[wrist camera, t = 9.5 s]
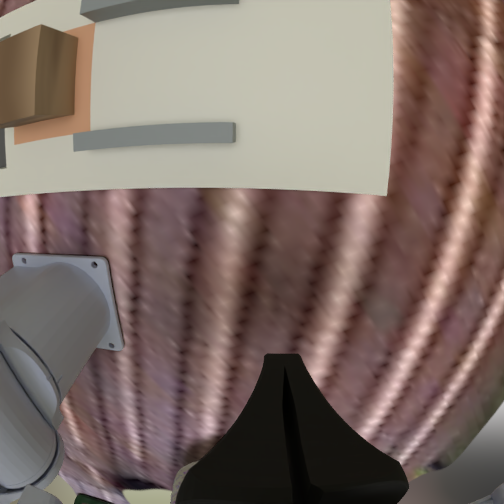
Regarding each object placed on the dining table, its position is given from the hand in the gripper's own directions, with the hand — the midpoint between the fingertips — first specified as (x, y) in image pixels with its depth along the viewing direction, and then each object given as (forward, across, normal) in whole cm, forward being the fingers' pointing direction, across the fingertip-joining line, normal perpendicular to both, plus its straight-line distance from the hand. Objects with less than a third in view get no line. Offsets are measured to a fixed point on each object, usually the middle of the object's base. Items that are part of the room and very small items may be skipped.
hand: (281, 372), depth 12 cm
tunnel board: (+9, +10, -13) cm, 19 cm away
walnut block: (+7, +14, -13) cm, 21 cm away
